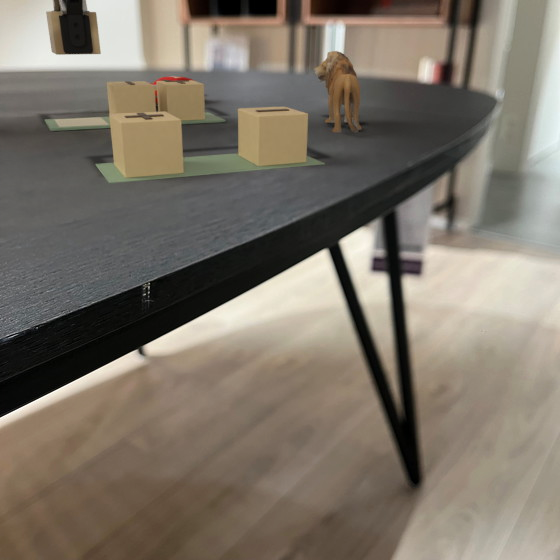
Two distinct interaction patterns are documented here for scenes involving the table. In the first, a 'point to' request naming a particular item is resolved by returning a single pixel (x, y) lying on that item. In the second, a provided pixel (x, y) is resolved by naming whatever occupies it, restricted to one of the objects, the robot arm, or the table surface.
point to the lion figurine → (340, 90)
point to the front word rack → (170, 162)
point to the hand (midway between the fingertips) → (75, 50)
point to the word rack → (147, 104)
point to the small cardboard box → (57, 38)
